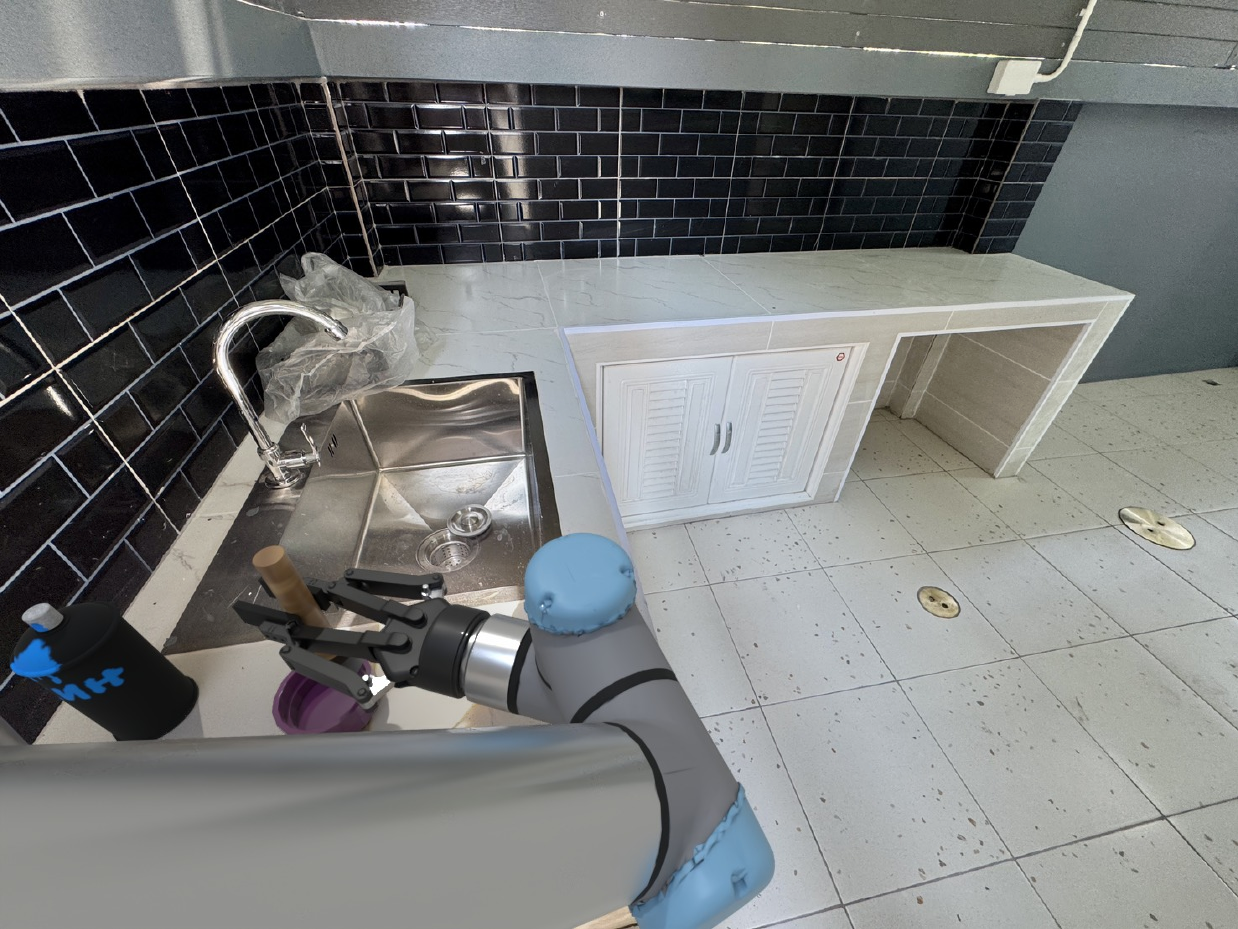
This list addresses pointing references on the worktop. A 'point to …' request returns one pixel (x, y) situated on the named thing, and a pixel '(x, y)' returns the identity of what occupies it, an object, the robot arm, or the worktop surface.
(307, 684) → the plum bowl
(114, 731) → the aerosol can
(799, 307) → the worktop surface
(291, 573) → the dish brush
